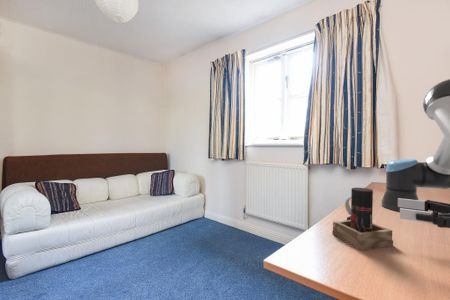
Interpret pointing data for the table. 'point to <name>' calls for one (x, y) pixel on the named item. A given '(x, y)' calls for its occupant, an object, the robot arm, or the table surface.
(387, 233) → the crate
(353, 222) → the deodorant
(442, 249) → the table surface
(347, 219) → the watch
